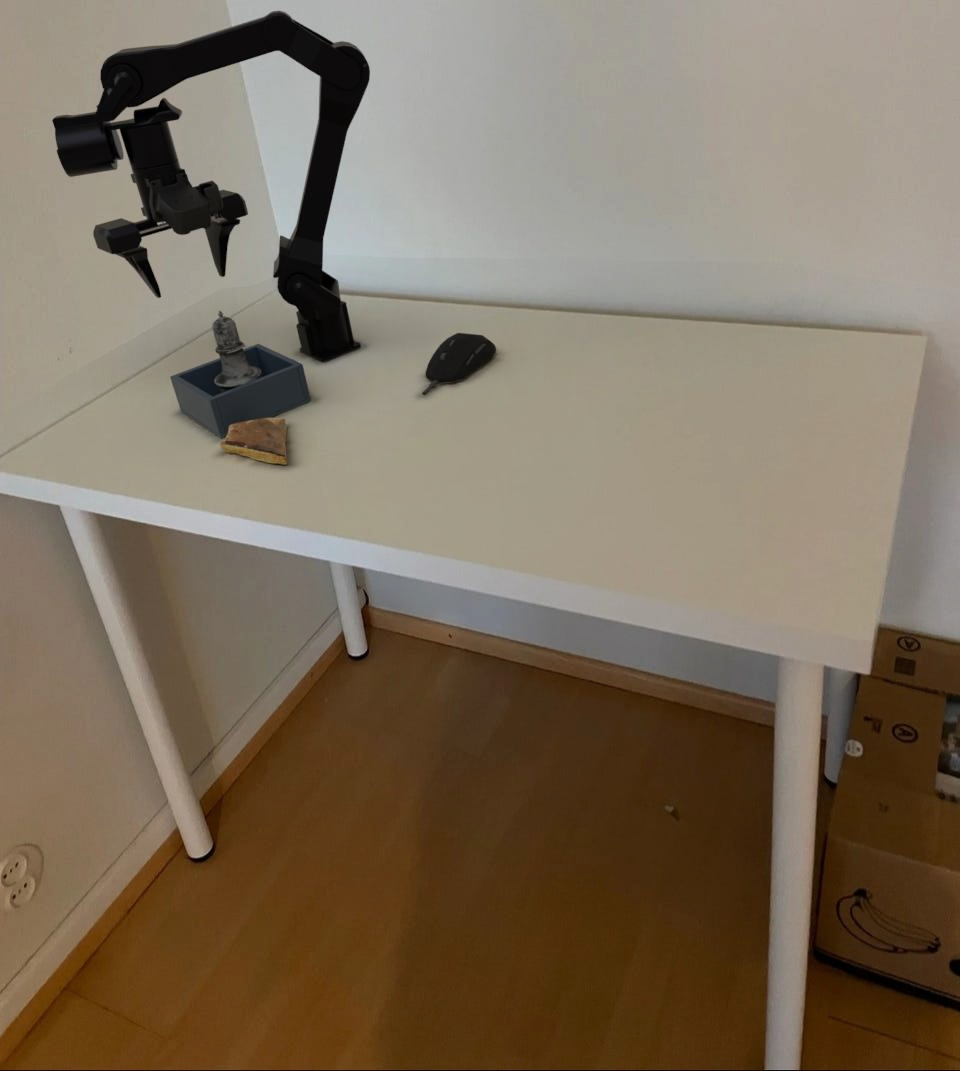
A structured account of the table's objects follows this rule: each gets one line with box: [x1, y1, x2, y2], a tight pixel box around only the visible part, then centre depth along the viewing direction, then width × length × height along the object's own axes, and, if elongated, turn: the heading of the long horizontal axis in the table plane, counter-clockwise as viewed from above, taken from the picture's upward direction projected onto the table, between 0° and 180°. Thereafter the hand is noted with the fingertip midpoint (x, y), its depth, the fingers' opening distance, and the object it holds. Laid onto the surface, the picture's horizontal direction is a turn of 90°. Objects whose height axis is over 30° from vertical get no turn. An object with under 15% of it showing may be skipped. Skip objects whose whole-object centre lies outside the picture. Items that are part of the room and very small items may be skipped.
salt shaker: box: [211, 310, 262, 393], centre depth 118 cm, size 6×6×12 cm
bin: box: [169, 343, 312, 439], centre depth 120 cm, size 13×12×5 cm
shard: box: [219, 417, 288, 466], centre depth 109 cm, size 11×8×2 cm
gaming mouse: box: [421, 332, 497, 396], centre depth 121 cm, size 6×15×4 cm, turn 149°
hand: (191, 286), depth 126 cm, fingers open, 9 cm apart
